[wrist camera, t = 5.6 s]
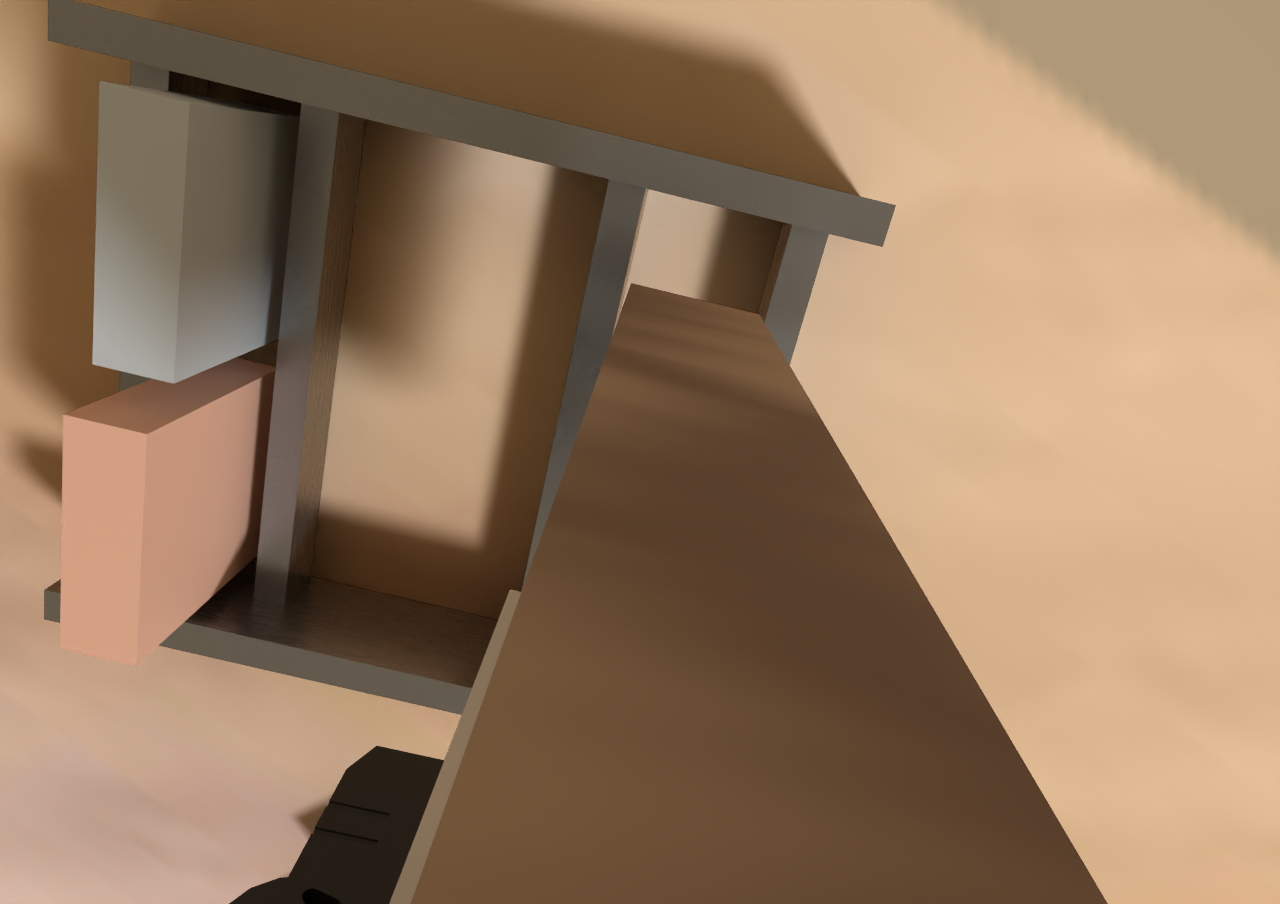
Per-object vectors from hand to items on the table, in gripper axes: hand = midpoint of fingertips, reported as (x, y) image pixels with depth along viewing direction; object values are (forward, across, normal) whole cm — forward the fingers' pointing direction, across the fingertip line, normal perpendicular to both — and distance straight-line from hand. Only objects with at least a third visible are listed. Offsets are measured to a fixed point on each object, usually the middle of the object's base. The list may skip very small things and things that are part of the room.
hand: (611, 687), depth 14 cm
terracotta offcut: (+14, -12, -4) cm, 19 cm away
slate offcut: (+14, -12, +4) cm, 19 cm away
